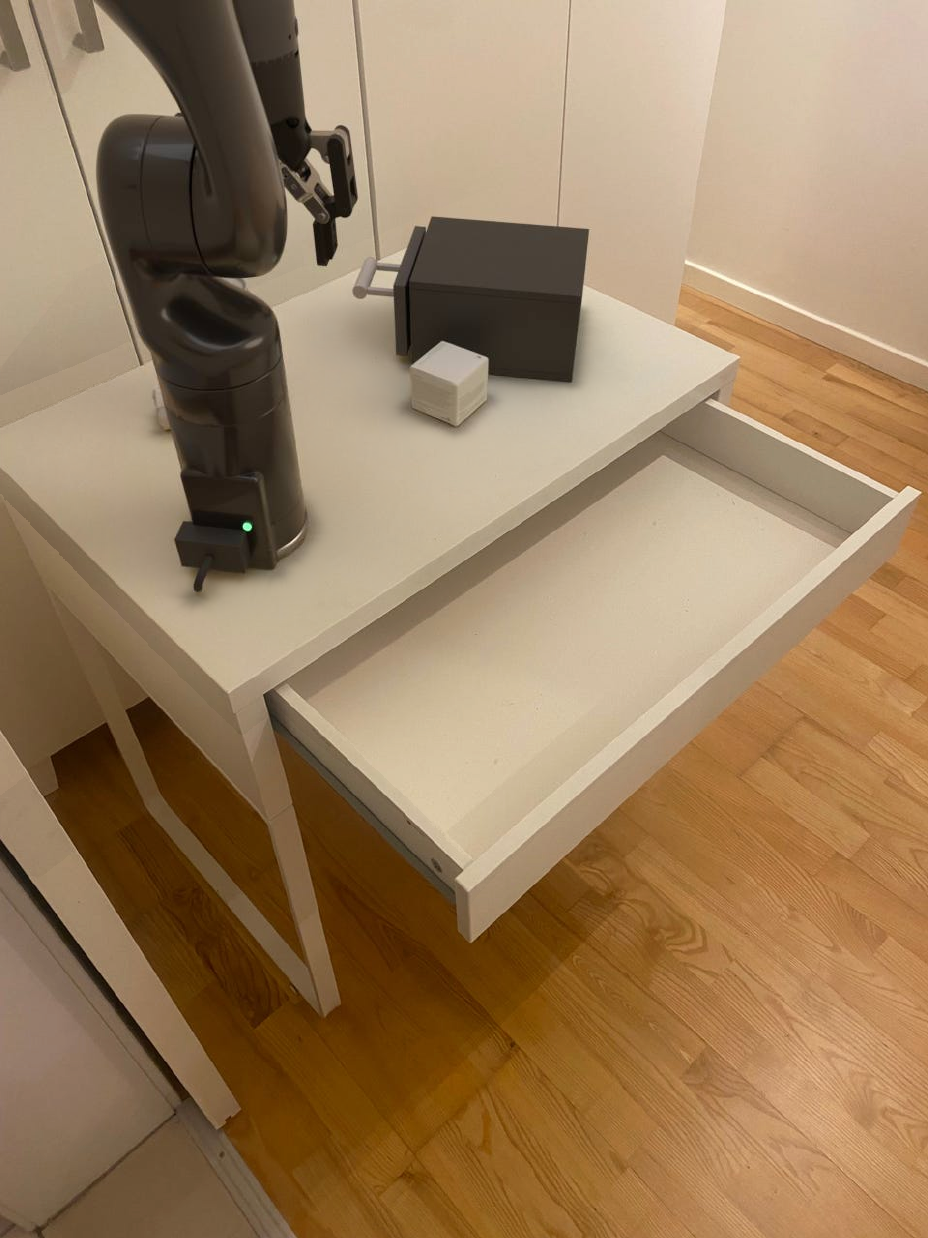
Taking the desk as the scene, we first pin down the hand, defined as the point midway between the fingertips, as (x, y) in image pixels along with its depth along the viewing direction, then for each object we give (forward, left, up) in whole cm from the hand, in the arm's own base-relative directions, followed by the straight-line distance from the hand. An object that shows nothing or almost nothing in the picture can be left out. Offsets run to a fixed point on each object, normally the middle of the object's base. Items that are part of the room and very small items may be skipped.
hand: (274, 256), depth 79 cm
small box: (+6, -14, -18) cm, 23 cm away
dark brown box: (+18, -17, -17) cm, 31 cm away
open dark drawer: (+18, -13, -16) cm, 28 cm away
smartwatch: (-2, +12, -18) cm, 21 cm away
